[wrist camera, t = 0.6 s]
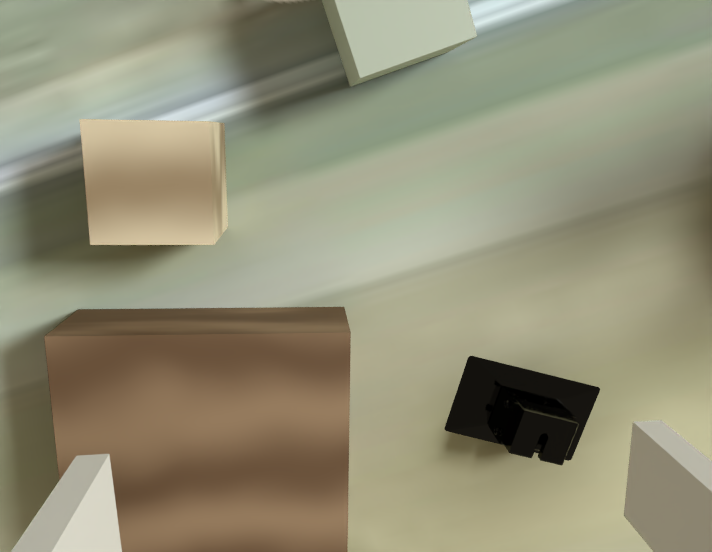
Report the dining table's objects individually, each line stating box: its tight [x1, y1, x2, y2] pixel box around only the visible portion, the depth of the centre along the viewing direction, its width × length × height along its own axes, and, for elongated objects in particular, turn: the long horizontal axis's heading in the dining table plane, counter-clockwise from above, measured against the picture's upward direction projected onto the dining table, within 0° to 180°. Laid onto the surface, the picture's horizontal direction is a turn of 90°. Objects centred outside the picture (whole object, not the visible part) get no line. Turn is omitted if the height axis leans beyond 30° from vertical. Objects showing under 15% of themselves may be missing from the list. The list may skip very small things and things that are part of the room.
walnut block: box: [44, 307, 351, 552], centre depth 37 cm, size 16×16×5 cm
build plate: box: [445, 356, 600, 465], centre depth 39 cm, size 12×7×5 cm, turn 73°
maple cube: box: [80, 119, 228, 245], centre depth 32 cm, size 6×6×6 cm
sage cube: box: [322, 0, 477, 87], centre depth 32 cm, size 6×6×6 cm
